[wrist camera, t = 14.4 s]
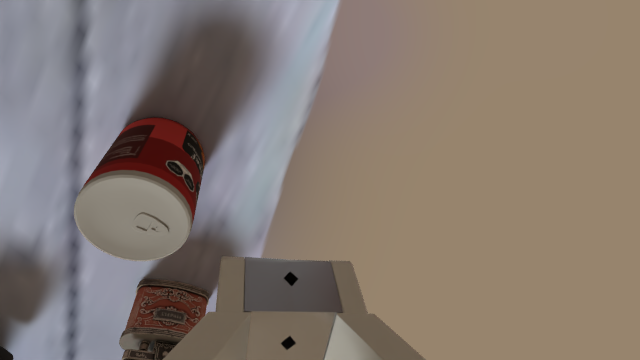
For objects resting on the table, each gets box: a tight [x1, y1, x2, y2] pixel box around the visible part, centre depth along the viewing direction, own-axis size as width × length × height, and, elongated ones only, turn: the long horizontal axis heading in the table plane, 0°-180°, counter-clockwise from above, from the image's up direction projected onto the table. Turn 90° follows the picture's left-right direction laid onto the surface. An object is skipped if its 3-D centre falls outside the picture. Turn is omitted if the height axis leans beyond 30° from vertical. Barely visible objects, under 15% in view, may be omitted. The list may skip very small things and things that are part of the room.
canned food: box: [74, 117, 205, 261], centre depth 34 cm, size 8×8×11 cm
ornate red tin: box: [119, 279, 209, 360], centre depth 43 cm, size 8×3×10 cm, turn 66°
